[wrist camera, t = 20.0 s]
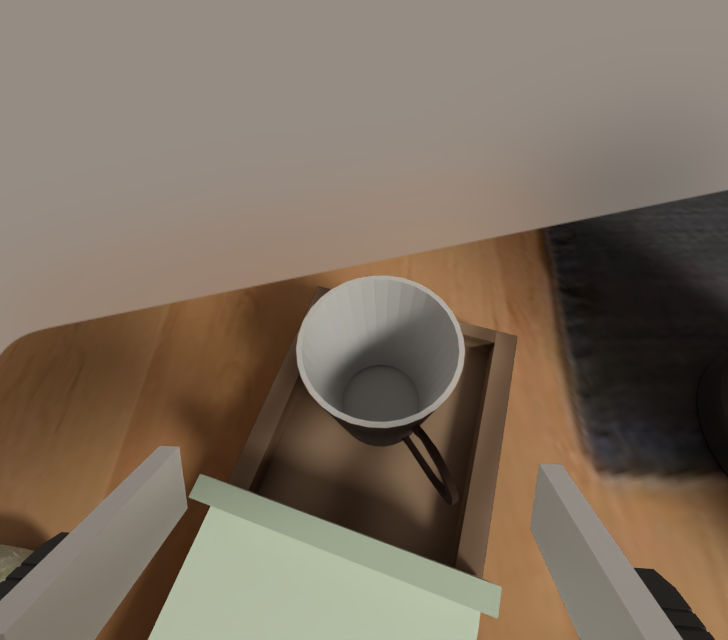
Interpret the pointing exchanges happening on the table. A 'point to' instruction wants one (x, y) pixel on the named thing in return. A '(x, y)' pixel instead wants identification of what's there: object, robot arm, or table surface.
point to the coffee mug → (383, 363)
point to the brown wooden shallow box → (390, 459)
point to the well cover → (310, 580)
